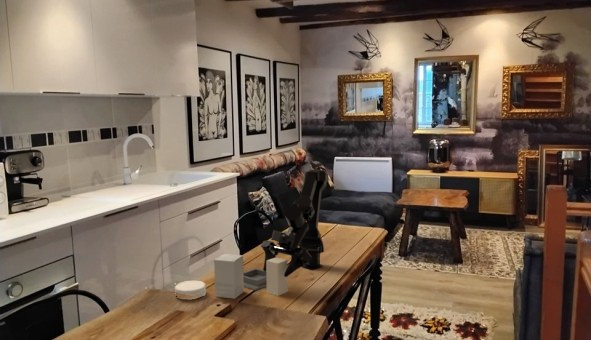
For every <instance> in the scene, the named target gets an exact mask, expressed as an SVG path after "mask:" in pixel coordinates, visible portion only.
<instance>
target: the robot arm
mask: <svg viewBox="0 0 591 340" xmlns="http://www.w3.org/2000/svg"><path fill="white" fill-rule="evenodd" d="M304 174H305V175H304V176H305V177H304V182H303V185H302V189H301V192H300V194H299V195H300V196H299V197H297V198H296V199H295V200H294V202H293V203H292V204H291V205H290V206H289V207H287V208H286V209H285V210H284V216H285V219H286V222H287V224H288V226H289V228H288V230H287V231H284V232H283V231H278V230H273V231H272V236H271V239H270V240H271V241H270V240H264V241H262V243H261V244H260V247H261V248H262V250H263V252H264V261H263V268H262V270H264V271H266V261H267V260H269V259H272V258H275V257H277V256H278V255H279V254H283V255H287V256H290V261H289V263H288V264H287V265H288V267H287V269H286V271H285V274H284V276H285V277H287V276H288V277H289V276H290V275H291V274H292V273H294V272H296V271H297V270H298V269H300V268H301V267H303V268H305V269H307V270H309V271H310V270H315V269H318V268H319V269H320V268H322V267H323V264H321V253H324V252H325V246H324V242H323V238H322V235H321V232H320V230H319V217H320V208H321V200H322V192H324V190H325V189H326V187H327V183H328V181H329V173H328V172H327V171H326V170H325V169H309V170H307V171H305V173H304ZM275 242H276V244H277V245H276V244H275Z"/></svg>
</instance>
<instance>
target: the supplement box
mask: <svg viewBox="0 0 591 340" xmlns="http://www.w3.org/2000/svg"><path fill="white" fill-rule="evenodd" d="M213 263H214V292H215V295H214V296H215V297H218V298H224V299H234V300H235V299H237V298H238V297H239V296H240V295H242V293H244V292H245V287H244V278H243V273H244V255H241V254H230V253H223V254H222V255H220V256H218V257H216V258H215V259H214V260H213Z"/></svg>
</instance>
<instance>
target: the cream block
mask: <svg viewBox="0 0 591 340" xmlns="http://www.w3.org/2000/svg"><path fill="white" fill-rule="evenodd" d="M288 265H289V264H288V259H286V258H281V257H277V256H276V257H275V258H272V259H269V260H267V261H266V281H267V286H266V293H267V294H270V295H272V296H273V295H274V296H277V297H279V296H281V295H283V294H286V293H288V289H289V288H288V286H289V285H288V282H289V281H288V277H289V276H287V277H285V276H284V274H285V271H286V269H287V267H288Z"/></svg>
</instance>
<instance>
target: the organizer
mask: <svg viewBox="0 0 591 340" xmlns="http://www.w3.org/2000/svg"><path fill="white" fill-rule="evenodd" d="M243 278H244V289H249V290H252V291H257V290H261V289H262V288H265V287H267V281H266V271H264V270H263V269H260V268H257V267H255V268H253V269H249V270H246V271H243Z"/></svg>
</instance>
